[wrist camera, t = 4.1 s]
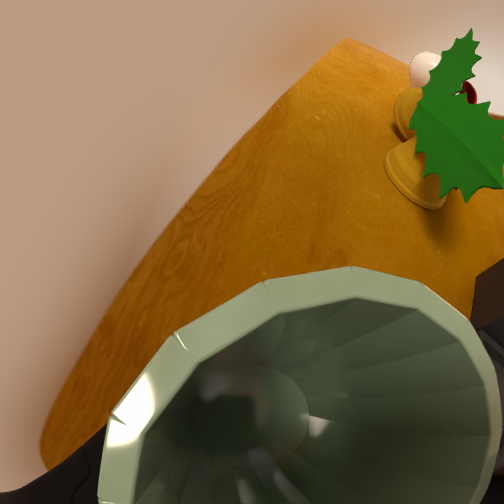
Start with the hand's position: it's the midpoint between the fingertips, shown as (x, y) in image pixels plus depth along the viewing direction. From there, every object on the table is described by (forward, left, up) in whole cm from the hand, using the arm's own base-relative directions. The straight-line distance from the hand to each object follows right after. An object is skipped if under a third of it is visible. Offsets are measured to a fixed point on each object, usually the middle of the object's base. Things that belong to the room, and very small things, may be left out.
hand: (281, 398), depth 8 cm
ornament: (+20, -13, -7) cm, 25 cm away
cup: (-1, 0, -7) cm, 7 cm away
